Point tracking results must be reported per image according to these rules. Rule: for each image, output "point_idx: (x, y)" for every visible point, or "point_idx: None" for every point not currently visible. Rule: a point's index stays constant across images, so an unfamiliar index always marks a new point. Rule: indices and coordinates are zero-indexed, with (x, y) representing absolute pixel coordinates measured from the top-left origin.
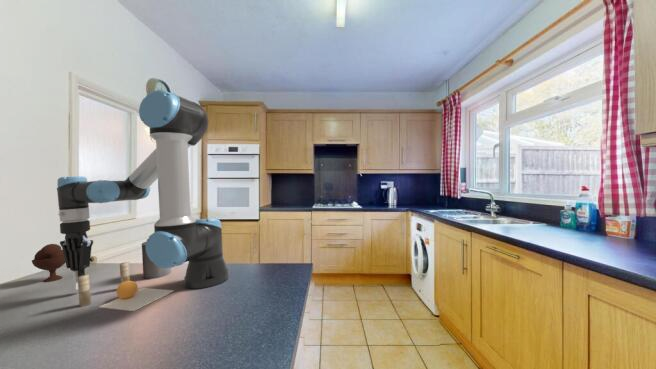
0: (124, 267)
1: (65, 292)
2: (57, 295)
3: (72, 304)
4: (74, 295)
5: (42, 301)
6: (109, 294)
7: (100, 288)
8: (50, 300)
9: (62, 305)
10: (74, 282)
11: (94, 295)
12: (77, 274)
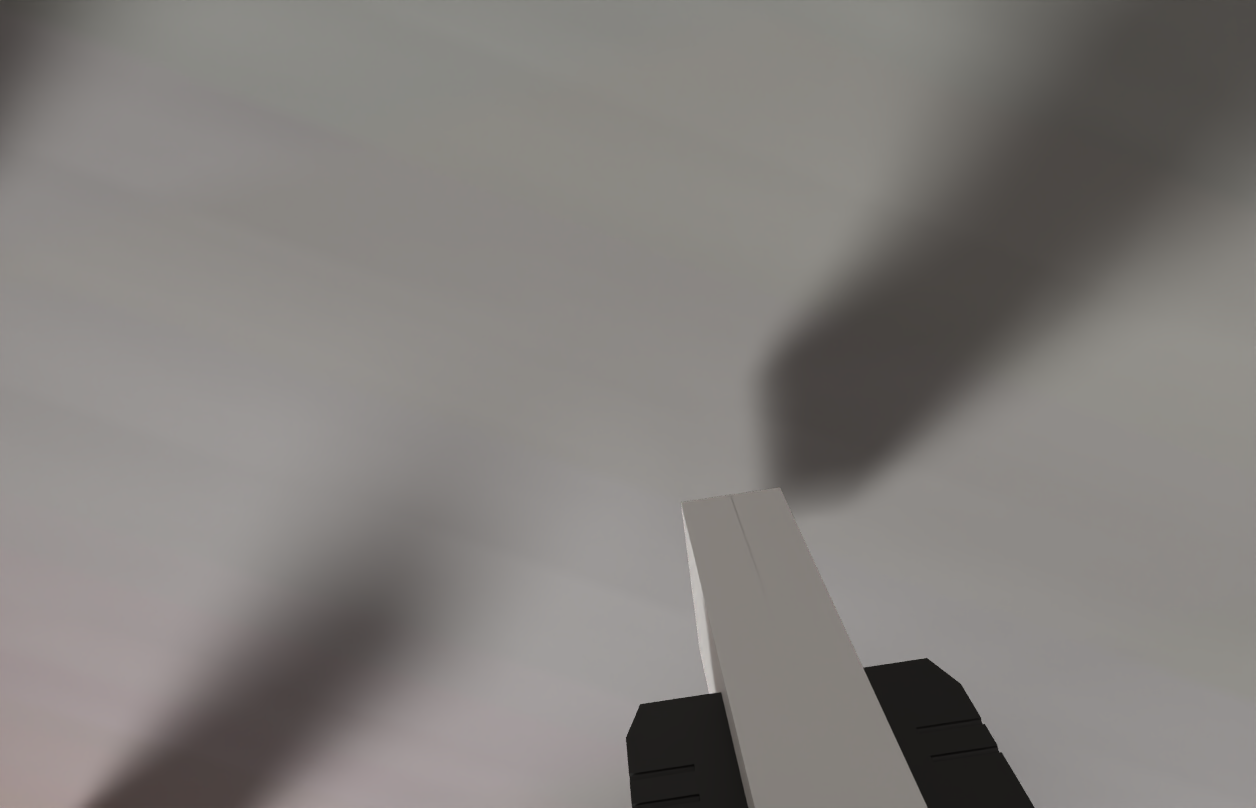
0: None
1: (1123, 441)
2: (1116, 311)
3: (102, 179)
4: (712, 428)
5: (1073, 27)
6: (26, 669)
7: (604, 742)
8: (939, 121)
9: (263, 72)
10: (762, 592)
11: (269, 557)
12: (742, 803)
